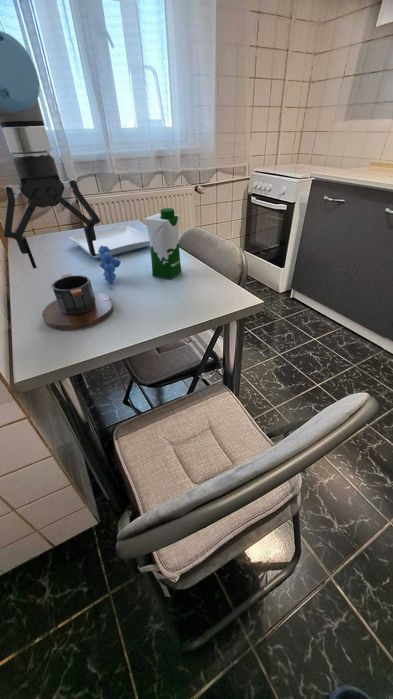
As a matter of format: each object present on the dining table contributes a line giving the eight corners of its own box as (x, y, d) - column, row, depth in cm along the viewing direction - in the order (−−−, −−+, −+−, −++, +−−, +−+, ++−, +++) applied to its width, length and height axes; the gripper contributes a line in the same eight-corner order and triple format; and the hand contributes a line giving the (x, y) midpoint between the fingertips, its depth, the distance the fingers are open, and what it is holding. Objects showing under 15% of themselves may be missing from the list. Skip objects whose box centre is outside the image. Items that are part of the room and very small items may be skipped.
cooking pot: (65, 321, 72) (56, 296, 68) (56, 301, 81) (48, 278, 76) (101, 311, 75) (95, 287, 71) (89, 293, 84) (83, 270, 80)
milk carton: (171, 281, 93) (165, 213, 81) (148, 276, 97) (139, 211, 85) (185, 271, 99) (182, 207, 87) (162, 267, 103) (156, 205, 91)
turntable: (50, 338, 69) (47, 332, 68) (39, 307, 82) (37, 302, 81) (123, 317, 76) (122, 311, 75) (103, 291, 89) (101, 286, 88)
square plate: (70, 245, 125) (67, 236, 123) (128, 233, 138) (127, 224, 136) (93, 263, 108) (90, 252, 105) (157, 247, 120) (156, 237, 118)
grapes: (128, 286, 91) (121, 247, 84) (106, 291, 89) (97, 251, 82) (120, 273, 100) (114, 237, 92) (100, 277, 98) (91, 240, 90)
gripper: (90, 149, 65) (110, 246, 78) (-42, 158, 55) (6, 266, 68) (100, 151, 60) (119, 254, 73) (-44, 160, 50) (8, 277, 63)
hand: (64, 260), depth 71 cm, fingers open, 13 cm apart
